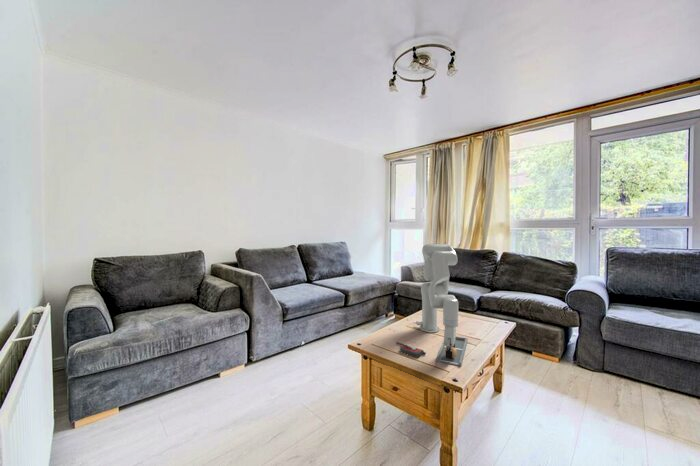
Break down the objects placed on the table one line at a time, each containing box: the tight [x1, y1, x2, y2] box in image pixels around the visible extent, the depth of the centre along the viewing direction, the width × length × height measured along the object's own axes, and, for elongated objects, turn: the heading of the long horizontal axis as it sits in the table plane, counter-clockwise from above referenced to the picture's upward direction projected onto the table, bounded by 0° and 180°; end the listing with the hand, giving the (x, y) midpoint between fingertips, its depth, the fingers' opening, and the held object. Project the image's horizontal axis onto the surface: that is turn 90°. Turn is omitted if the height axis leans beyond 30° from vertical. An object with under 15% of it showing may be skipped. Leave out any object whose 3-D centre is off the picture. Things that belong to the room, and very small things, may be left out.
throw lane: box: [435, 335, 468, 367], centre depth 160 cm, size 12×35×2 cm, turn 153°
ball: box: [444, 347, 457, 358], centre depth 151 cm, size 6×6×6 cm
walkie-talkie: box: [396, 341, 427, 359], centre depth 160 cm, size 9×4×20 cm
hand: (450, 354), depth 151 cm, fingers open, 9 cm apart
